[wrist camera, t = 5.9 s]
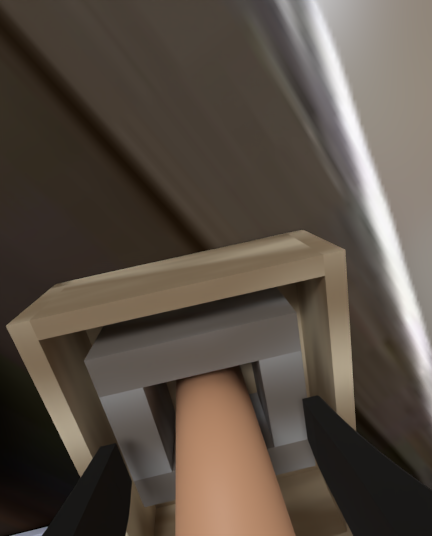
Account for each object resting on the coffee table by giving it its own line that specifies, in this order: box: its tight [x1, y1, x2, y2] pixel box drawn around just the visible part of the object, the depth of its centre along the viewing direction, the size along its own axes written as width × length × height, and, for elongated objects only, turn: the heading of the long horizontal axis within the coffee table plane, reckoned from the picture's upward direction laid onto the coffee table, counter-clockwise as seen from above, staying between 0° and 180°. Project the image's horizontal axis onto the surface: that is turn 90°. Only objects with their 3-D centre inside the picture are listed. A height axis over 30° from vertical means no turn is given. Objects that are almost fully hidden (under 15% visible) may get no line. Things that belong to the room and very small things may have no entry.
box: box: [6, 230, 356, 536], centre depth 15 cm, size 16×12×4 cm
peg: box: [175, 365, 296, 536], centre depth 11 cm, size 3×3×9 cm
